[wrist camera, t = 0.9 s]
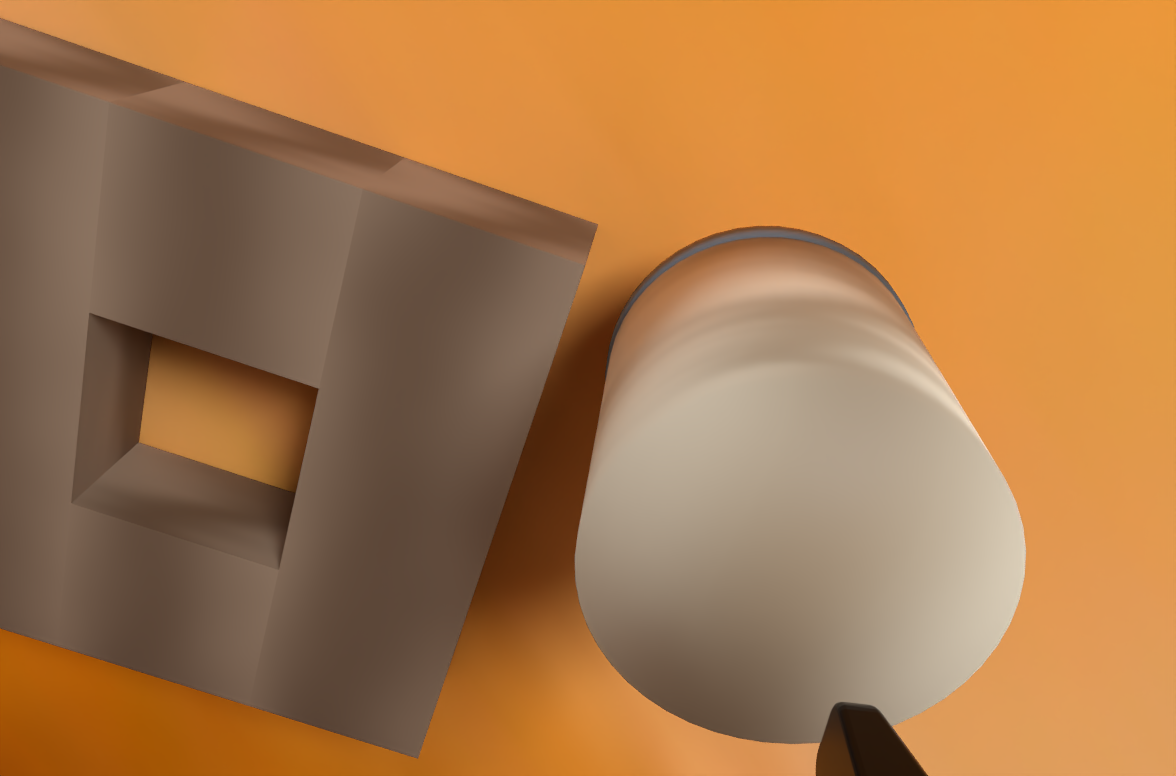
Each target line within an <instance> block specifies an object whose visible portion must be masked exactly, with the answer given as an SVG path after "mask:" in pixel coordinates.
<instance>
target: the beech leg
mask: <svg viewBox="0 0 1176 776" xmlns="http://www.w3.org/2000/svg"><path fill="white" fill-rule="evenodd" d="M1025 559H1026V548H1025V539H1024V530H1023V524H1022V521H1021V517H1020V514H1019V510H1018V507H1017V504H1016V501H1015V499H1014V497H1013V495H1012V492H1011V490H1010V488H1009V486H1008V484H1007V482H1006V480H1005V478H1004V476H1003V475H1002V473H1001V471H1000V470H999V468H998V466H997V465H996V463H995V461H994V460H993V458H992V456H991V455H990V453H989V451H988V450H987V448H986V446H985V445H984V443H983V441H982V440H981V438H980V437H979V435H978V433H977V432H976V430H975V428H974V427H973V425H972V423H971V422H970V420H969V418H968V417H967V415H966V413H965V412H964V410H963V408H962V407H961V405H960V403H959V402H958V400H957V398H956V397H955V395H954V393H953V392H952V390H951V389H950V387H949V385H948V384H947V382H946V380H945V379H944V377H943V375H942V374H941V372H940V370H939V369H938V367H937V365H936V364H935V362H934V360H933V359H932V357H931V355H930V354H929V352H928V350H927V349H926V347H925V345H924V344H923V342H922V341H921V339H920V337H919V336H918V334H917V332H916V331H915V329H914V326H913V323H912V321H911V319H910V317H909V315H908V313H907V311H906V309H905V307H904V305H903V304H902V302H901V300H900V299H899V297H898V296H897V294H896V293H895V291H894V290H893V288H892V287H891V286H890V284H889V283H888V281H887V280H886V279H885V278H884V277H883V276H882V275H881V274H880V273H879V272H878V271H877V270H876V268H875V267H873V266H872V265H871V264H870V263H868V262H867V261H866V260H865V259H863V258H862V257H861V256H860V255H858V254H857V253H855V252H853V251H852V250H850V249H848V248H847V247H845V246H843V245H842V244H840V243H837V242H835V241H833V240H830V239H828V238H825V237H823V236H821V235H818V234H815V233H811V232H807V231H804V230H800V229H794V228H787V227H780V226H753V227H745V228H736V229H732V230H728V231H724V232H720V233H716V234H713V235H711V236H708V237H705V238H703V239H700V240H698V241H695V242H694V243H692V244H690V245H688V246H686V247H684V248H682V249H680V250H679V251H677V252H676V253H674V254H673V255H672V256H670V257H669V258H667V259H666V260H665V261H663V262H662V263H661V264H660V265H659V266H658V267H656V268H655V269H654V270H653V271H652V272H651V273H650V274H649V275H648V276H647V277H646V278H645V279H644V280H643V281H642V283H641V284H640V285H639V286H638V288H637V289H636V290H635V291H634V292H633V294H632V295H631V297H630V299H629V300H628V302H627V303H626V305H625V307H624V308H623V310H622V312H621V314H620V317H619V319H618V321H617V323H616V325H615V328H614V332H613V335H612V339H611V342H610V346H609V351H608V357H607V365H606V372H605V387H604V393H603V398H602V404H601V409H600V415H599V420H598V426H597V431H596V437H595V442H594V448H593V453H592V459H591V464H590V470H589V475H588V480H587V486H586V491H585V497H584V502H583V508H582V513H581V519H580V524H579V530H578V536H577V543H576V551H575V581H576V587H577V592H578V598H579V603H580V606H581V609H582V612H583V615H584V618H585V621H586V624H587V626H588V628H589V630H590V632H591V634H592V635H593V637H594V639H595V641H596V643H597V645H598V647H599V648H600V649H601V651H602V652H603V654H604V655H605V656H606V658H607V659H608V661H609V662H610V663H611V665H612V666H613V667H614V668H615V669H616V670H617V671H618V672H619V673H620V674H621V676H622V677H623V678H624V679H625V680H626V681H627V682H628V683H629V684H631V685H632V686H633V687H634V688H635V689H637V690H638V691H639V692H640V693H641V694H642V695H644V696H645V697H646V698H648V699H649V700H651V701H652V702H654V703H655V704H657V705H658V706H660V707H661V708H663V709H664V710H666V711H668V712H670V713H672V714H674V715H676V716H678V717H680V718H682V719H684V720H686V721H688V722H690V723H692V724H695V725H698V726H700V727H703V728H706V729H708V730H711V731H714V732H717V733H721V734H725V735H729V736H733V737H736V738H741V739H747V740H754V741H760V742H769V743H785V744H801V743H821V740H822V737H823V734H824V731H825V728H826V725H827V721H828V718H829V715H830V712H831V710H832V708H833V706H834V705H835V704H836V703H838V702H850V703H859V704H868V705H872V706H874V707H876V708H877V709H879V710H880V711H881V713H882V714H883V715H884V717H885V718H886V719H887V721H888V722H889V723H890V725H891V726H893V725H896V724H898V723H900V722H903V721H905V720H907V719H909V718H911V717H913V716H915V715H918V714H920V713H922V712H923V711H925V710H927V709H928V708H930V707H931V706H933V705H935V704H936V703H938V702H940V701H941V700H943V699H944V698H946V697H947V696H948V695H950V694H951V693H952V692H953V691H955V690H956V689H957V688H959V687H960V686H961V685H962V684H964V683H965V682H966V681H967V680H968V679H969V678H970V677H971V676H972V675H973V674H974V673H975V672H976V671H977V670H978V669H979V668H980V667H981V666H982V665H983V663H984V662H985V661H986V660H987V658H988V657H989V656H990V654H991V653H992V652H993V651H994V649H995V648H996V647H997V645H998V644H999V642H1000V640H1001V639H1002V637H1003V635H1004V633H1005V632H1006V630H1007V628H1008V626H1009V625H1010V623H1011V620H1012V618H1013V615H1014V612H1015V610H1016V607H1017V605H1018V602H1019V599H1020V595H1021V590H1022V586H1023V581H1024V576H1025Z"/></svg>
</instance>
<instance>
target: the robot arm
mask: <svg viewBox="0 0 1176 776" xmlns="http://www.w3.org/2000/svg"><path fill="white" fill-rule="evenodd" d="M816 776H928V775H927V774H926V772H925V771H924V770H923V768H922V767H921V766H920V764H919V763H918V762H917V760H916V759H915V757H914V756H913V755H912V753H911V752H910V751H909V749H908V748H907V747H906V745H905V744H904V742H903V741H902V740H901V738H900V737H899V736H898V734H897V733H896V732H895V730H894V729H893V727H892V726H891V725H890V723H889V722H888V721H887V719H886V718H885V717H884V715H883V714H882V713H881V711H880V710H879V709H877V708H876V707H874V706H872V705H868V704H859V703H850V702H838V703H836V704H835V705H834V706H833V708H832V710H831V712H830V715H829V718H828V721H827V725H826V728H825V731H824V734H823V737H822V740H821V743H820V746H819V749H818V753H817V759H816Z"/></svg>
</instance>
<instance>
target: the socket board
mask: <svg viewBox="0 0 1176 776" xmlns="http://www.w3.org/2000/svg"><path fill="white" fill-rule="evenodd" d="M597 226H598V224H595V223H592V222H589V221H586V220H583V219H580V218H578V217H575V216H572V215H569V214H566V213H563V212H560V211H557V210H554V209H552V208H549V207H546V206H543V205H540V204H537V203H534V202H531V201H528V200H525V199H523V198H520V197H517V196H514V195H511V194H508V193H505V192H502V191H499V190H496V189H494V188H491V187H488V186H485V185H482V184H479V183H476V182H473V181H470V180H468V179H465V178H462V177H459V176H456V175H453V174H450V173H447V172H444V171H441V170H439V169H436V168H433V167H430V166H427V165H424V164H421V163H418V162H415V161H413V160H410V159H407V158H404V157H401V156H398V155H395V154H392V153H389V152H386V151H384V150H381V149H378V148H375V147H372V146H369V145H366V144H363V143H360V142H357V141H355V140H352V139H349V138H346V137H343V136H340V135H337V134H334V133H331V132H329V131H326V130H323V129H320V128H317V127H314V126H311V125H308V124H305V123H302V122H300V121H297V120H294V119H291V118H288V117H285V116H282V115H279V114H276V113H274V112H271V111H268V110H265V109H262V108H259V107H256V106H253V105H250V104H247V103H245V102H242V101H239V100H236V99H233V98H230V97H227V96H224V95H221V94H218V93H216V92H213V91H210V90H207V89H204V88H201V87H198V86H195V85H192V84H190V83H187V82H184V81H181V80H178V79H175V78H172V77H169V76H166V75H163V74H161V73H158V72H155V71H152V70H149V69H146V68H143V67H140V66H137V65H135V64H132V63H129V62H126V61H123V60H120V59H117V58H114V57H111V56H108V55H106V54H103V53H100V52H97V51H94V50H91V49H88V48H85V47H82V46H79V45H77V44H74V43H71V42H68V41H65V40H62V39H59V38H56V37H53V36H51V35H48V34H45V33H42V32H39V31H36V30H33V29H30V28H27V27H24V26H22V25H19V24H16V23H13V22H10V21H7V20H4V19H1V18H0V628H1V629H4V630H7V631H11V632H14V633H17V634H20V635H23V636H27V637H30V638H33V639H36V640H40V641H43V642H46V643H49V644H52V645H56V646H59V647H62V648H65V649H68V650H72V651H75V652H78V653H81V654H84V655H88V656H91V657H94V658H97V659H100V660H104V661H107V662H110V663H113V664H116V665H120V666H123V667H126V668H129V669H132V670H136V671H139V672H142V673H145V674H148V675H152V676H155V677H158V678H161V679H165V680H168V681H171V682H174V683H177V684H181V685H184V686H187V687H190V688H193V689H197V690H200V691H203V692H206V693H209V694H213V695H216V696H219V697H222V698H225V699H229V700H232V701H235V702H238V703H241V704H245V705H248V706H251V707H254V708H257V709H261V710H264V711H267V712H270V713H273V714H277V715H280V716H283V717H286V718H290V719H293V720H296V721H299V722H302V723H306V724H309V725H312V726H315V727H318V728H322V729H325V730H328V731H331V732H334V733H338V734H341V735H344V736H347V737H350V738H354V739H357V740H360V741H363V742H366V743H370V744H373V745H376V746H379V747H382V748H386V749H389V750H392V751H395V752H399V753H402V754H405V755H408V756H411V757H415V758H418V757H419V754H420V751H421V748H422V745H423V742H424V739H425V736H426V733H427V730H428V727H429V724H430V721H431V718H432V715H433V712H434V710H435V707H436V704H437V701H438V698H439V695H440V692H441V689H442V686H443V683H444V680H445V677H446V674H447V671H448V668H449V665H450V662H451V659H452V656H453V654H454V651H455V648H456V645H457V642H458V639H459V636H460V633H461V630H462V627H463V624H464V621H465V618H466V615H467V612H468V609H469V606H470V603H471V600H472V597H473V595H474V592H475V589H476V586H477V583H478V580H479V577H480V574H481V571H482V568H483V565H484V562H485V559H486V556H487V553H488V550H489V547H490V544H491V541H492V539H493V536H494V533H495V530H496V527H497V524H498V521H499V518H500V515H501V512H502V509H503V506H504V503H505V500H506V497H507V494H508V491H509V488H510V485H511V483H512V480H513V477H514V474H515V471H516V468H517V465H518V462H519V459H520V456H521V453H522V450H523V447H524V444H525V441H526V438H527V435H528V432H529V429H530V427H531V424H532V421H533V418H534V415H535V412H536V409H537V406H538V403H539V400H540V397H541V394H542V391H543V388H544V385H545V382H546V379H547V376H548V373H549V370H550V368H551V365H552V362H553V359H554V356H555V353H556V350H557V347H558V344H559V341H560V338H561V335H562V332H563V329H564V326H565V323H566V320H567V317H568V314H569V312H570V309H571V306H572V303H573V300H574V297H575V294H576V291H577V288H578V285H579V282H580V279H581V276H582V273H583V270H584V267H585V264H586V261H587V258H588V255H589V252H590V248H591V245H592V242H593V239H594V236H595V233H596V229H597ZM152 334H155V335H158V336H161V337H164V338H167V339H170V340H173V341H176V342H179V343H182V344H185V345H188V346H191V347H194V348H197V349H201V350H204V351H207V352H210V353H213V354H216V355H219V356H222V357H225V358H228V359H231V360H234V361H237V362H240V363H243V364H246V365H249V366H252V367H255V368H258V369H261V370H264V371H267V372H270V373H273V374H276V375H279V376H282V377H285V378H288V379H291V380H294V381H297V382H300V383H303V384H306V385H309V386H312V387H315V388H318V389H319V390H318V395H317V399H316V404H315V408H314V413H313V418H312V422H311V427H310V431H309V436H308V440H307V445H306V449H305V454H304V458H303V463H302V467H301V472H300V477H299V481H298V486H297V490H296V493H293V492H289V491H286V490H283V489H280V488H277V487H274V486H271V485H268V484H265V483H262V482H259V481H256V480H252V479H249V478H246V477H243V476H240V475H237V474H234V473H231V472H228V471H225V470H222V469H219V468H215V467H212V466H209V465H206V464H203V463H200V462H197V461H194V460H191V459H188V458H185V457H182V456H179V455H175V454H172V453H169V452H166V451H163V450H160V449H157V448H154V447H151V446H148V445H145V444H142V443H138V442H139V435H140V427H141V419H142V411H143V404H144V396H145V388H146V380H147V372H148V365H149V357H150V349H151V341H152Z"/></svg>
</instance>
